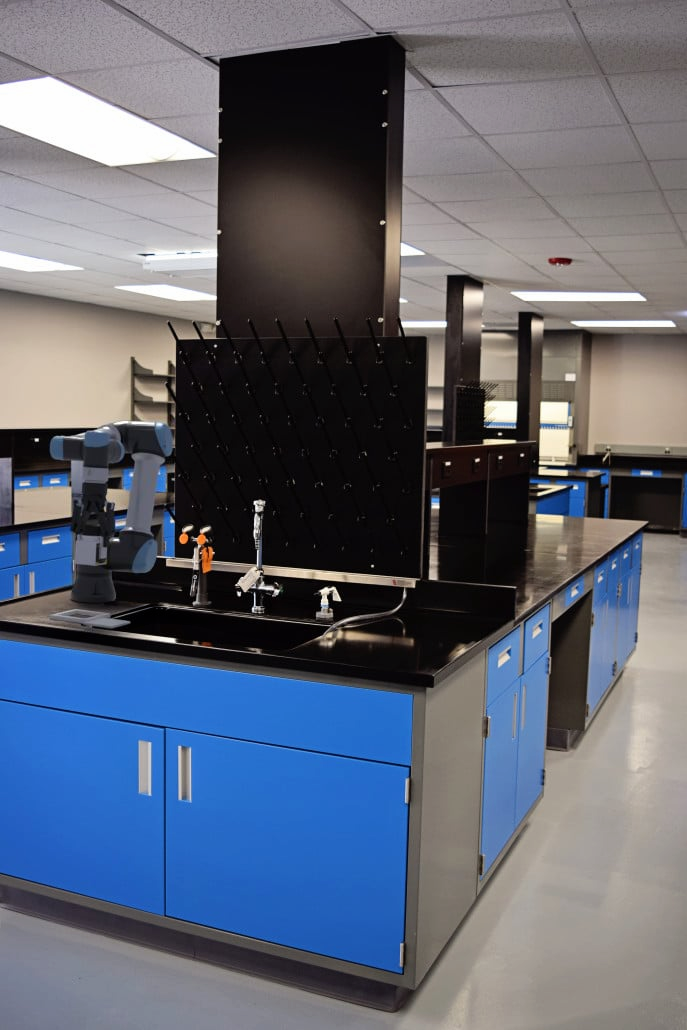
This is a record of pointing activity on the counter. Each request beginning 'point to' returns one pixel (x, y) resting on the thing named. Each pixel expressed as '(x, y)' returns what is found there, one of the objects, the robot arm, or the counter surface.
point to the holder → (66, 615)
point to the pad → (106, 622)
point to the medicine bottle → (89, 546)
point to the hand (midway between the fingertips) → (91, 556)
